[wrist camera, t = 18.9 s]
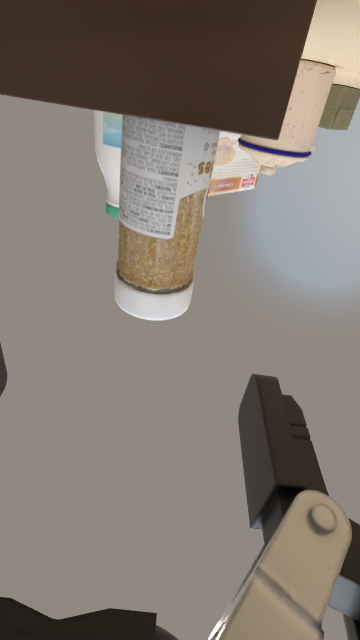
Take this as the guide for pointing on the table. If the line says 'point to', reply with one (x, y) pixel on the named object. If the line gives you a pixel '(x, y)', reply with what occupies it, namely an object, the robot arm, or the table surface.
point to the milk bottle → (109, 155)
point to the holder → (159, 58)
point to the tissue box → (338, 109)
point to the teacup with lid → (294, 120)
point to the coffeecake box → (232, 167)
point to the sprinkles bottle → (160, 214)
